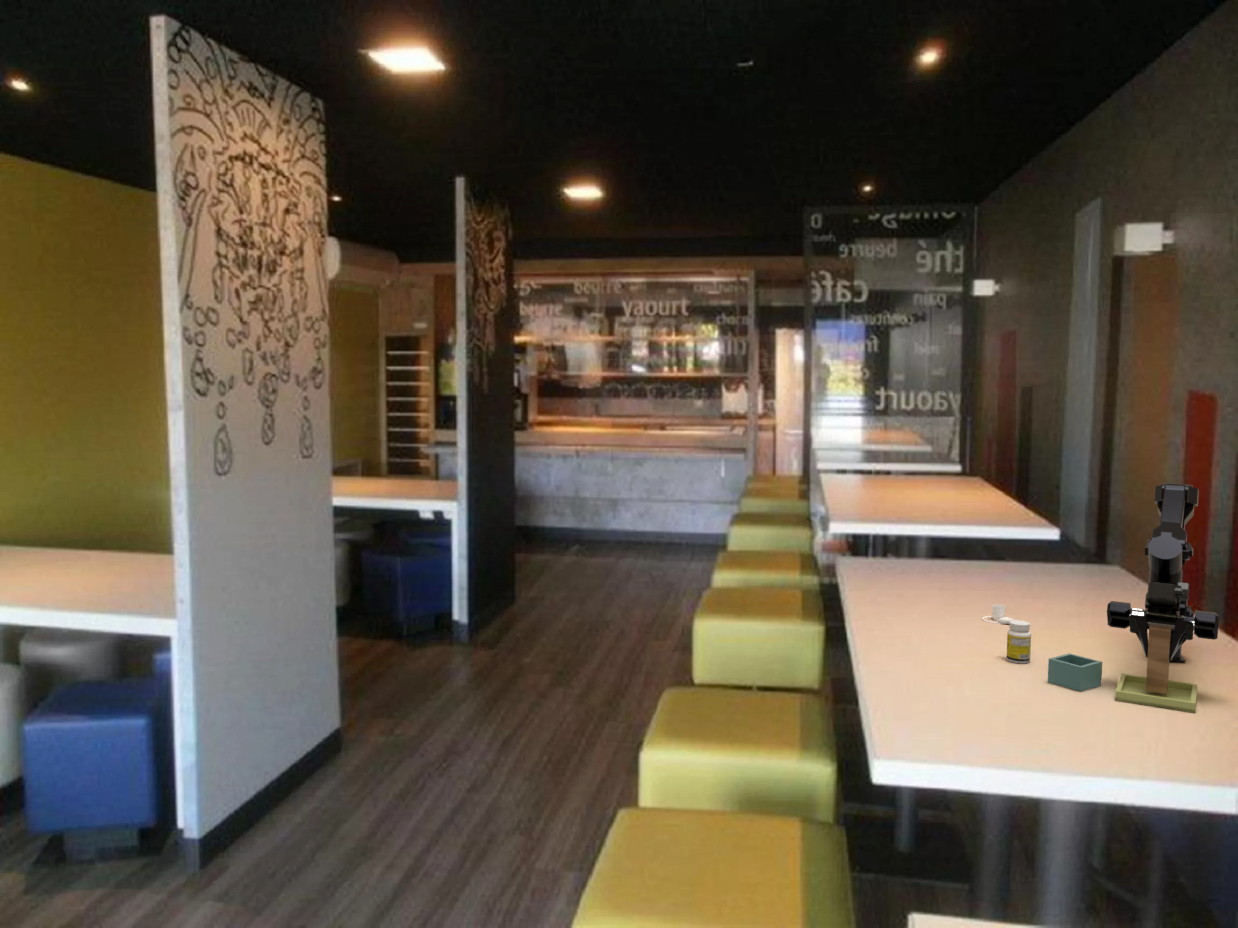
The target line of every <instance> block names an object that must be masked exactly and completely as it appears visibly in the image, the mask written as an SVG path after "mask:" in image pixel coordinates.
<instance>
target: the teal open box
mask: <svg viewBox="0 0 1238 928" xmlns="http://www.w3.org/2000/svg"><path fill="white" fill-rule="evenodd" d="M1047 667H1048V671H1047V683H1050V684H1052V685H1057V686H1061V687H1062V688H1067V689H1069V690H1074V691H1077V692H1084V691H1087V690H1088V691H1089V690H1090V689H1094V688H1098V687H1101V686H1102V681H1103V680H1102V677H1103V676H1102V675H1103V661H1101V660H1096V659H1093V658H1089V657H1085V656H1080V655H1077V654H1073V653H1064V654H1061V655H1058V656H1053V657H1050V658H1048V666H1047Z"/></svg>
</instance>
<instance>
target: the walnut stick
mask: <svg viewBox="0 0 1238 928" xmlns="http://www.w3.org/2000/svg"><path fill="white" fill-rule="evenodd" d="M1170 641H1171V627H1165V626H1156V625H1150V628H1149V629H1148V657H1147V663H1146V677H1147V678H1146V691H1151V692H1158V693H1164V694H1167V691H1168V680H1169V676H1170V675H1169V671H1170V661H1169V650H1170Z"/></svg>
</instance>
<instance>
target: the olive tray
mask: <svg viewBox="0 0 1238 928" xmlns="http://www.w3.org/2000/svg"><path fill="white" fill-rule="evenodd" d="M1146 678H1147V676H1142V675H1135V674H1128V673H1121V675H1120V677H1119V680H1118V683H1117V686H1116V688H1115V693H1114V694H1115V696H1114V701H1115V702H1116V701H1117V702H1123V703H1130V704H1136V705H1142V706H1149V707H1154V708H1161V709H1165V710H1173V711H1179V712H1185V713H1186V712H1187V713H1191V714H1193V713H1194V714H1195V713H1196V706H1197V694H1198V684H1197V683H1191V682H1183V681H1178V680H1177V681H1175V680H1171V679H1170V680H1169V679H1168V691H1167V694H1164V693H1158V692H1151V691H1146Z"/></svg>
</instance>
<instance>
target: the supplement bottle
mask: <svg viewBox="0 0 1238 928" xmlns="http://www.w3.org/2000/svg"><path fill="white" fill-rule="evenodd" d="M1008 625H1009V629H1008V630H1007V633H1006V634H1007V635H1006V636H1007V639H1006V640H1007V641H1006V660H1007V661H1008V662H1010V663H1014V664H1021V665H1022V664H1029V663H1030V662H1031V654H1032V653H1031V647H1032V646H1031V645H1032V644H1031V643H1032V634H1031V632H1030V627H1031V626H1030V625H1031V623H1030V622H1028V621H1026V620H1017V619H1014V620H1013V621H1010V624H1008Z"/></svg>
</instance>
